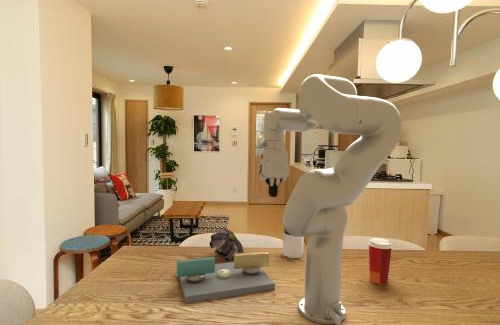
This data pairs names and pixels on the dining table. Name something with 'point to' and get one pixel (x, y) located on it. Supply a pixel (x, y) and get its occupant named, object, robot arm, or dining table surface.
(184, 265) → the knob
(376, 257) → the paper cup
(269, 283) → the board
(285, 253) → the jar
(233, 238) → the decorative flower
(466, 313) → the dining table surface
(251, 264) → the knob
